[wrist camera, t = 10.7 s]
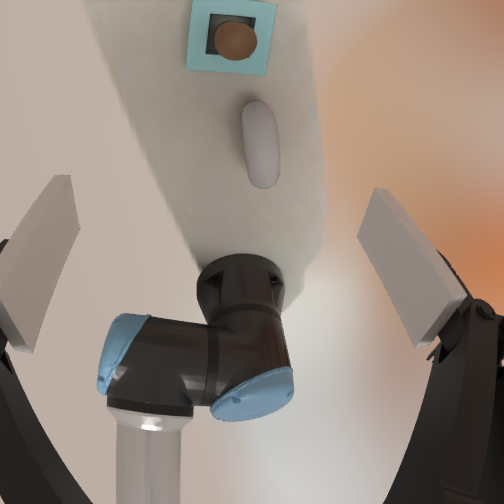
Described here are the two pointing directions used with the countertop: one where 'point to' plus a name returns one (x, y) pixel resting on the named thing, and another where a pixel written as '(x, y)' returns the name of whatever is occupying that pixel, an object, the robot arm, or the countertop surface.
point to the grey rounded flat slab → (261, 144)
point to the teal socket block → (199, 59)
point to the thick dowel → (235, 40)
